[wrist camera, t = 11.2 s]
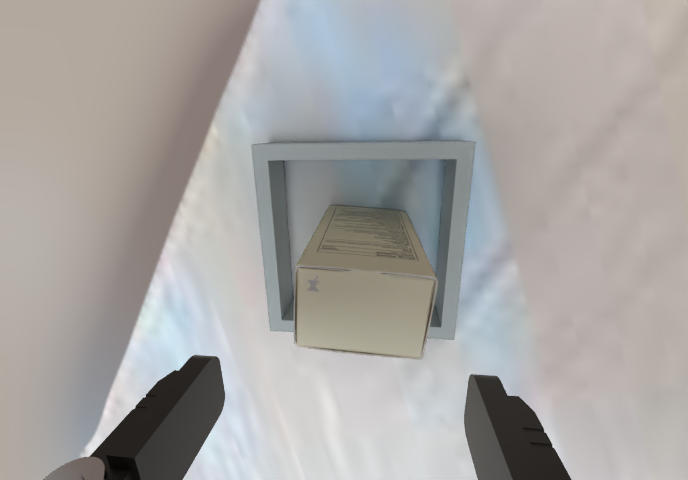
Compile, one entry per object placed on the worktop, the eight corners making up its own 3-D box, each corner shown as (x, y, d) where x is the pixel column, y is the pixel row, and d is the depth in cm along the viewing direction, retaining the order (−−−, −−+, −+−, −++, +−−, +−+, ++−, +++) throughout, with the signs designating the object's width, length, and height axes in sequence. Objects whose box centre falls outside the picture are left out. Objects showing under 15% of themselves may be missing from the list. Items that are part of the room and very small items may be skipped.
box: (461, 140, 23) (475, 141, 19) (445, 314, 27) (454, 339, 24) (268, 142, 24) (251, 144, 21) (282, 307, 29) (270, 330, 25)
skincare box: (326, 255, 27) (285, 348, 15) (328, 203, 25) (286, 262, 14) (404, 262, 26) (424, 365, 15) (411, 210, 25) (440, 278, 13)
